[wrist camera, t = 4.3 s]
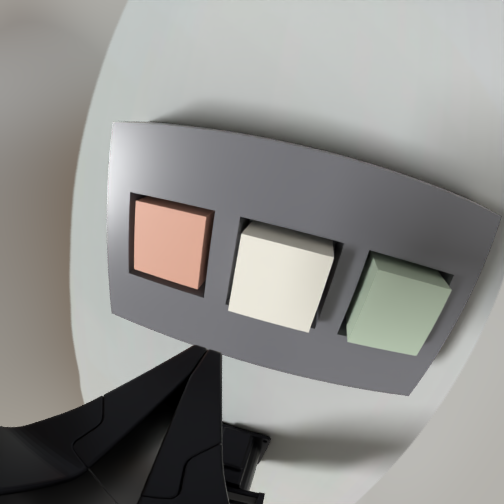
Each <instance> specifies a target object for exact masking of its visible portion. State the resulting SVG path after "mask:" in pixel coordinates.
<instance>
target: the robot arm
mask: <svg viewBox="0 0 504 504" xmlns="http://www.w3.org/2000/svg"><path fill="white" fill-rule="evenodd" d="M270 440H271V438H270V437H268V436H265V435H261V434H257V433H253V432H250V431H246V430H242V429H239V428H236V427H232V426H229V425H226V424H223V423H222V353H221V352H219V351H215V350H212V349H209V350H208V349H207V348H205V347H202V346H199V345H193V346H191V347H190V348H188V349H186V350H185V351H183V352H181V353H179V354H178V355H176V356H174V357H172V358H171V359H169V360H167V361H165V362H164V363H162V364H160V365H158V366H156V367H155V368H153V369H151V370H149V371H147V372H146V373H144V374H142V375H140V376H138V377H136V378H135V379H133V380H131V381H129V382H127V383H125V384H123V385H122V386H120V387H118V388H116V389H114V390H112V391H110V392H108V393H106V394H105V395H104V397H103V396H100V397H98V398H97V399H95V400H93V401H91V402H88V403H86V404H84V405H82V406H80V407H78V408H75V409H73V410H70V411H68V412H65V413H63V414H60V415H57V416H54V417H51V418H48V419H45V420H42V421H39V422H35V423H32V424H29V425H26V426H21V427H2V426H0V504H263V500H264V495H265V493H260V492H259V493H256V492H251V491H249V490H250V487H251V483H252V480H253V477H254V473H255V470H256V466H257V464H259V462H260V460H261V459H262V457H263V455H264V453H265V451H266V449H267V447H268V445H269V443H270Z"/></svg>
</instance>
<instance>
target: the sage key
mask: <svg viewBox="0 0 504 504" xmlns="http://www.w3.org/2000/svg"><path fill="white" fill-rule="evenodd" d="M451 291H452V290H451V288H450V287H449V285H448V284H447V283H446V281H445V280H444V278H443V277H442V276H441V274H440V273H439V272H438V270H436V269H433V268H429V267H426V266H423V265H419V264H416V263H413V262H409V261H406V260H402V259H399V258H395V257H392V256H388V255H385V254H381V253H378V252H374V251H371V250H369V253H368V256H367V259H366V262H365V264H364V267H363V270H362V273H361V276H360V278H359V281H358V284H357V286H356V289H355V292H354V294H353V297H352V299H351V302H350V304H349V307H348V309H347V312H346V327H347V342H350V343H355V344H359V345H364V346H368V347H373V348H378V349H383V350H388V351H393V352H398V353H403V354H408V355H414V356H417V354H418V352H419V351H420V349H421V347H422V346H423V344H424V342H425V341H426V339H427V337H428V335H429V334H430V332H431V330H432V328H433V326H434V324H435V323H436V321H437V319H438V317H439V315H440V313H441V311H442V309H443V307H444V305H445V303H446V301H447V299H448V297H449V295H450V293H451Z"/></svg>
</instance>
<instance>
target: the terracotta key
mask: <svg viewBox="0 0 504 504" xmlns="http://www.w3.org/2000/svg"><path fill="white" fill-rule="evenodd" d="M214 216H215V211H214V210H210V209H206V208H201V207H197V206H192V205H188V204H184V203H179V202H175V201H170V200H165V199H161V198H156V197H151V196H147V197H144V198H141V199H139V200H136V207H135V233H134V269H136V270H139V271H142V272H145V273H148V274H151V275H154V276H157V277H160V278H163V279H166V280H169V281H172V282H175V283H178V284H182V285H185V286H188V287H191V288H194V289H198V288H199V287H200V286H201V285H202V284H203V282H204V281H205V280H206V276H207V268H208V260H209V253H210V245H211V238H212V230H213V223H214Z"/></svg>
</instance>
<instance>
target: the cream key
mask: <svg viewBox="0 0 504 504" xmlns="http://www.w3.org/2000/svg"><path fill="white" fill-rule="evenodd" d="M333 259H334V251H333V240H330V239H327V238H323V237H319V236H315V235H312V234H308V233H304V232H300V231H296V230H292V229H288V228H284V227H280V226H276V225H272V224H268V223H264V222H260V221H256V220H253V221H252V222H251V223H250V224H249V225H248V227H247V228H246V229H245V230H244V231H243V232H242V234H241V239H240V244H239V250H238V256H237V262H236V267H235V273H234V279H233V285H232V291H231V296H230V302H229V308H228V311H231V312H234V313H238V314H241V315H245V316H248V317H252V318H255V319H259V320H262V321H266V322H270V323H273V324H277V325H281V326H285V327H288V328H292V329H296V330H300V331H304V332H308V333H309V330H310V327H311V324H312V322H313V319H314V316H315V313H316V310H317V308H318V305H319V302H320V299H321V296H322V293H323V290H324V287H325V284H326V281H327V278H328V275H329V272H330V269H331V266H332V263H333Z"/></svg>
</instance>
